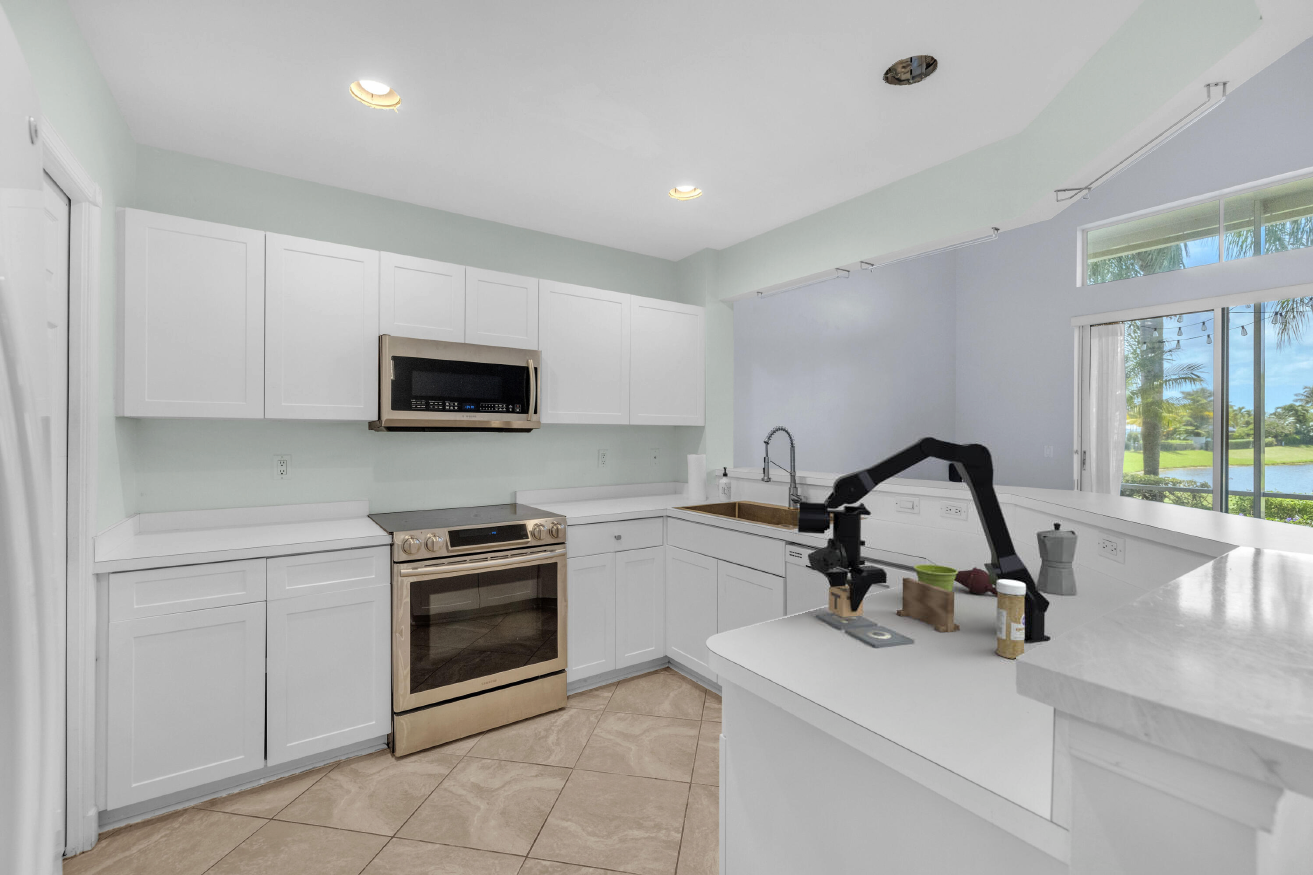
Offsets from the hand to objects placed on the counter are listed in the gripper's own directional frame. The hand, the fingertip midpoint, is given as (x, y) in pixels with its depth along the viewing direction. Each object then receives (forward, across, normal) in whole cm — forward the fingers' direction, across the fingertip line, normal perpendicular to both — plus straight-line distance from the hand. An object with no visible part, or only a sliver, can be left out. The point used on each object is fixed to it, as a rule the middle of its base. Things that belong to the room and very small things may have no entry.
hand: (845, 607), depth 124 cm
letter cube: (+1, 0, 0) cm, 1 cm away
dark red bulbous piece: (+3, -11, +48) cm, 49 cm away
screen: (+3, +5, +17) cm, 18 cm away
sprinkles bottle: (+3, +25, +17) cm, 30 cm away
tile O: (+3, +10, 0) cm, 11 cm away
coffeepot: (+3, -7, +72) cm, 72 cm away
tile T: (+3, 0, 0) cm, 3 cm away
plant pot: (+3, -5, +29) cm, 30 cm away
